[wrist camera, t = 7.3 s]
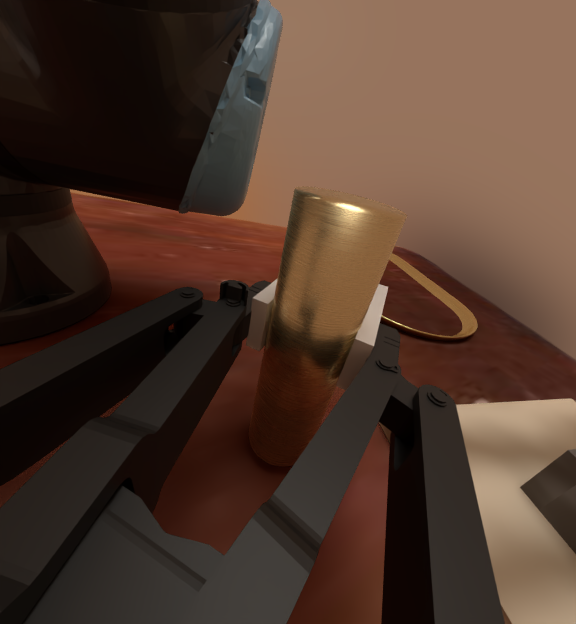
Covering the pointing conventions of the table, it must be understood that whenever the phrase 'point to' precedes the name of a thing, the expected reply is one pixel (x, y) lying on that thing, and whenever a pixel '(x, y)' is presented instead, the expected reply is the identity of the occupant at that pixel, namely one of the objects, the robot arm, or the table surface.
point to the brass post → (317, 313)
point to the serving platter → (455, 305)
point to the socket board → (526, 502)
